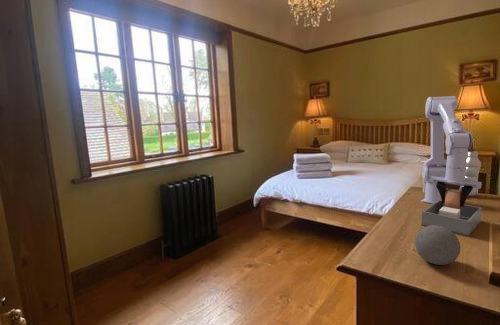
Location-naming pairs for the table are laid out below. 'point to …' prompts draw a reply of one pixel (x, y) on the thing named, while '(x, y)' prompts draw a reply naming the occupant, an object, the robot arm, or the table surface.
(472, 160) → the plastic bottle
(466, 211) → the box
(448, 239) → the decorative ball
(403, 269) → the table surface
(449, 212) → the cube
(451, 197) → the brown egg
